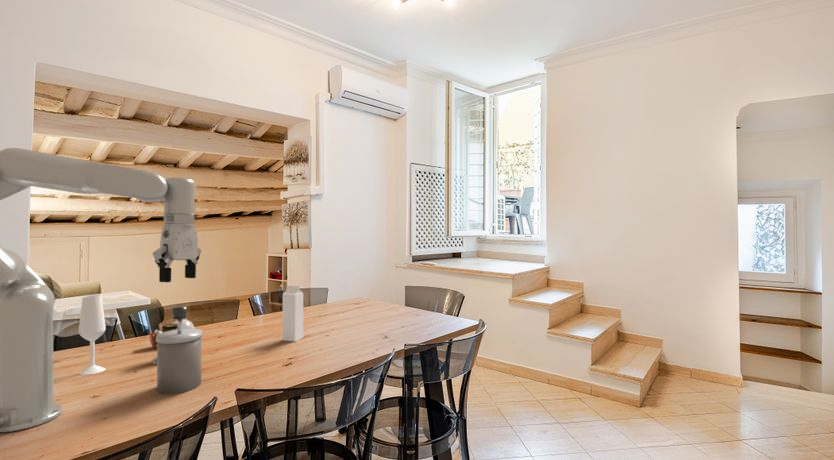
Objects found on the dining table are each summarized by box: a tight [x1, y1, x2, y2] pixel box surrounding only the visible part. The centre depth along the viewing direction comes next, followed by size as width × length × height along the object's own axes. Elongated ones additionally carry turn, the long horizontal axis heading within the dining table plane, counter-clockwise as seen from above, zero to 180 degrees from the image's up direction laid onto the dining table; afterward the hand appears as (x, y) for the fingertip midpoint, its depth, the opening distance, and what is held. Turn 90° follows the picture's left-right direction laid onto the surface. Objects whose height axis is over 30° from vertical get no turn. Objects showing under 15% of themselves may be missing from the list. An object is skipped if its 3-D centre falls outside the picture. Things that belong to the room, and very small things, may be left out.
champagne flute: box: [78, 294, 106, 376], centre depth 127 cm, size 7×7×24 cm
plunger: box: [172, 305, 188, 334], centre depth 116 cm, size 4×4×8 cm
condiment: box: [153, 323, 177, 365], centre depth 139 cm, size 7×8×12 cm
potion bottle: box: [149, 318, 196, 349], centre depth 156 cm, size 9×10×15 cm
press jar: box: [156, 328, 204, 395], centre depth 116 cm, size 13×12×15 cm
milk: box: [282, 285, 304, 342], centre depth 165 cm, size 6×6×22 cm
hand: (178, 279), depth 115 cm, fingers open, 9 cm apart
